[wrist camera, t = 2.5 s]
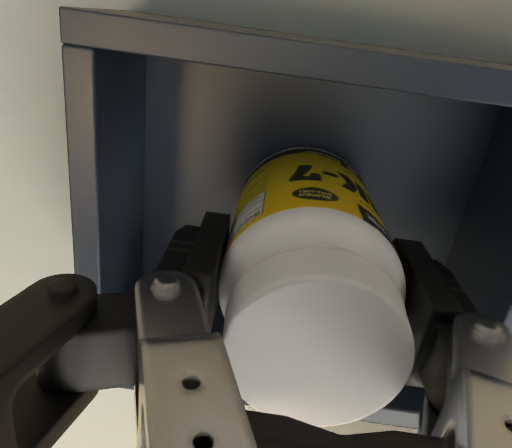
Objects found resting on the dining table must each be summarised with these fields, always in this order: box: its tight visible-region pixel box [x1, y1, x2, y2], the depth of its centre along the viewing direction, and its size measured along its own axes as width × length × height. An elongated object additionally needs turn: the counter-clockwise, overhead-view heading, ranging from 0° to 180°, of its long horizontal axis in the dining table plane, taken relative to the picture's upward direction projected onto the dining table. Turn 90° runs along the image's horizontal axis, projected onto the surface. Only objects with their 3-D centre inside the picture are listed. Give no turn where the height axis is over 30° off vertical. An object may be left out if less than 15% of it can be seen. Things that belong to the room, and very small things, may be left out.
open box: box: [59, 7, 512, 429], centre depth 15 cm, size 12×14×5 cm
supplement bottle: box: [218, 147, 415, 427], centre depth 13 cm, size 5×5×8 cm
